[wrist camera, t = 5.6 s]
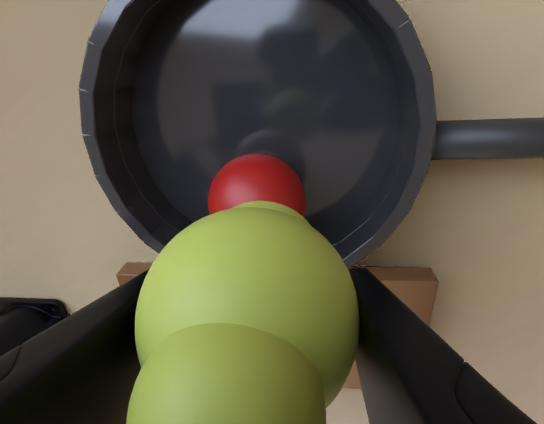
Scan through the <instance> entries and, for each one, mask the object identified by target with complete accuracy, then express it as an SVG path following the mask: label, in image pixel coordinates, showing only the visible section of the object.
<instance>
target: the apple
mask: <svg viewBox="0 0 544 424" xmlns="http://www.w3.org/2000/svg"><path fill="white" fill-rule="evenodd" d="M251 201H270V202H276V203H279V204H282V205H285V206H287V207H289V208H291V209H293V210H295V211H296V212H298V213H299V214H300V215H302V216H303V217H304V214H305V208H306V196H305V191H304V187H303V184H302V182H301V180H300V178H299V176H298V175H297V174H296V172H295V171H294V170H293V169H292V168H291V167H290V166H289V165H288V164H287V163H286V162H284V161H282V160H281V159H279V158H278V157H275V156H273V155H270V154H263V153H251V154H245V155H242V156H239V157H237V158H235V159H233V160H231V161H229V162H228V163H227V164H225V165H224V166H223V167H222V168H221V169H220V170H219V171H218V173H217V174H216V176H215V177H214V179H213V181H212V183H211V186H210V189H209V194H208V211H209V215H211V214H213V213H216V212H219V211H222V210H227V209H231V208H233V207H235V206H237V205H239V204H242V203H246V202H251Z"/></svg>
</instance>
